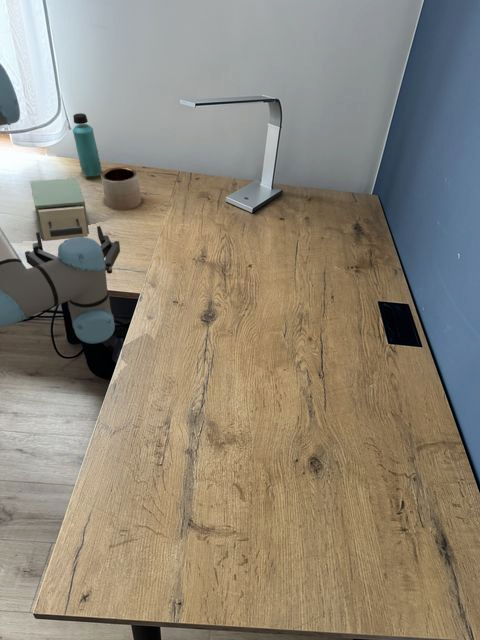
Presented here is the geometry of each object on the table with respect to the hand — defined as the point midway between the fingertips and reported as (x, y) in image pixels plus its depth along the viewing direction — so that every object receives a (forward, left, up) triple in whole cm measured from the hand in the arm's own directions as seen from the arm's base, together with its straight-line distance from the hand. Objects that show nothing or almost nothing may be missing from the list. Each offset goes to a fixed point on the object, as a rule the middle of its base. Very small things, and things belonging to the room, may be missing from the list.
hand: (69, 234), depth 119 cm
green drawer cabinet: (-8, +27, -13) cm, 31 cm away
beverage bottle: (-4, +59, -13) cm, 61 cm away
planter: (+8, +41, -13) cm, 44 cm away
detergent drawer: (-7, +21, -12) cm, 26 cm away
